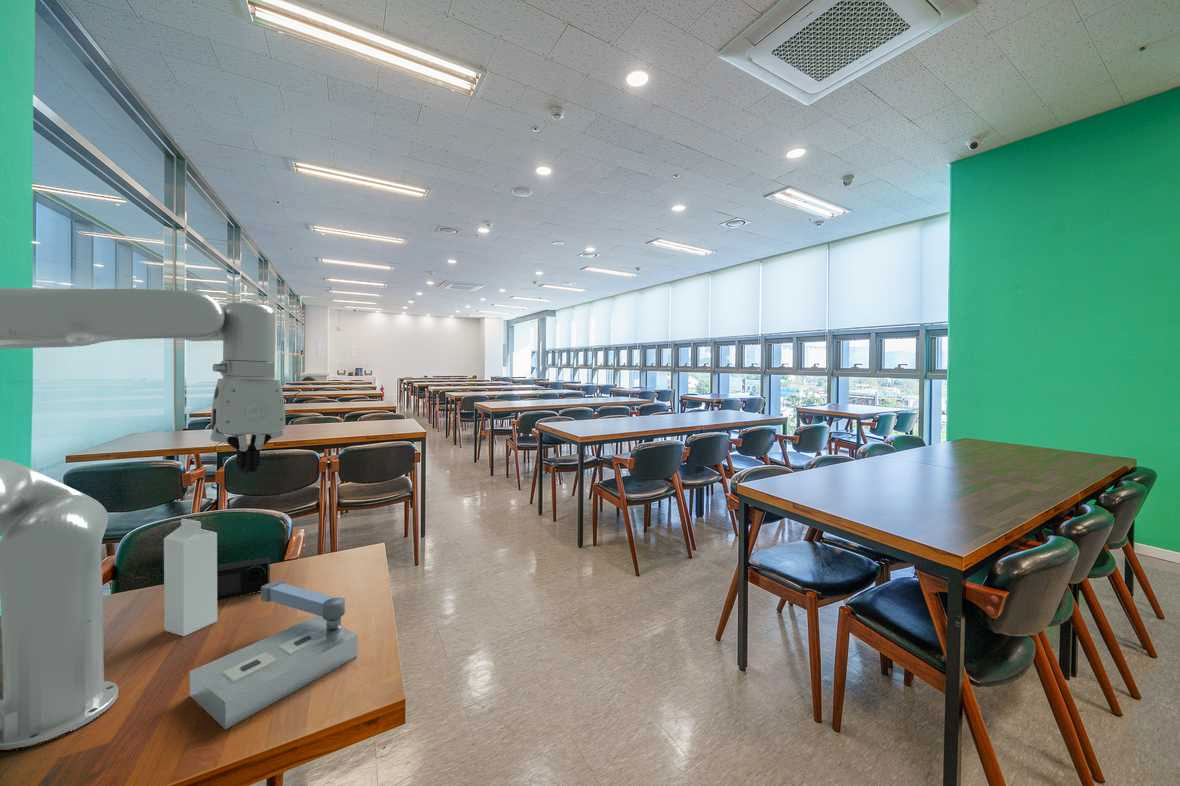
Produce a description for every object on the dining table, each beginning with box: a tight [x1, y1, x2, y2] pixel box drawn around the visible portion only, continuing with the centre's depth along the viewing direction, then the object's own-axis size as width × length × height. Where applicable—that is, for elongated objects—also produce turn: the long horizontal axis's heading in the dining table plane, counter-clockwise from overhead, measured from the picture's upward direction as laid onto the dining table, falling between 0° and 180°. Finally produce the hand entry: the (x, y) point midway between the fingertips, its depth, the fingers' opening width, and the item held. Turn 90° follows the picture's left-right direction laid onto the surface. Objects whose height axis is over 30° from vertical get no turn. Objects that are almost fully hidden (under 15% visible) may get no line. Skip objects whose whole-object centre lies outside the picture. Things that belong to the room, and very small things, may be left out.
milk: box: [163, 518, 218, 637], centre depth 89 cm, size 6×6×22 cm
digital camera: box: [217, 556, 271, 601], centre depth 103 cm, size 10×5×7 cm, turn 121°
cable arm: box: [260, 579, 346, 620], centre depth 86 cm, size 20×4×3 cm, turn 69°
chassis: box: [189, 615, 359, 730], centre depth 76 cm, size 20×13×6 cm, turn 150°
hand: (248, 471), depth 80 cm, fingers closed
